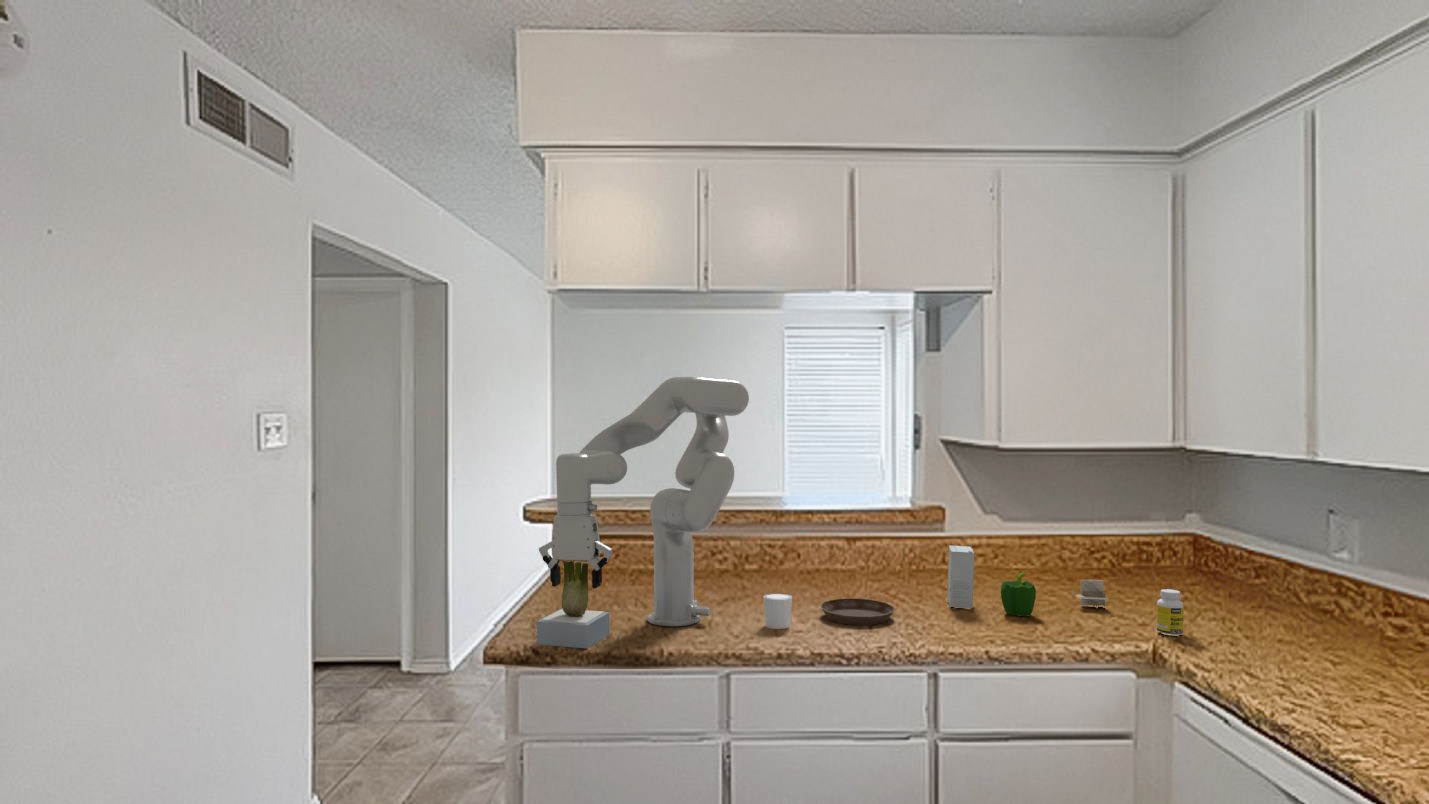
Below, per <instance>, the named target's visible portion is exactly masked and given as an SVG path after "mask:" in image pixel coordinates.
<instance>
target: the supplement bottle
mask: <svg viewBox="0 0 1429 804" xmlns="http://www.w3.org/2000/svg"><path fill="white" fill-rule="evenodd" d="M1160 597H1161V598H1160V599H1158V600H1157V601H1156V632H1157V631H1158V632H1162V633H1166V634H1171V635H1180V634H1183V635H1184V608H1185V607H1184V606H1185V605H1184V602H1182V601H1181V600H1180V599H1181V591H1180V590H1176V589H1169V588H1167V589H1161V590H1160Z"/></svg>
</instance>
